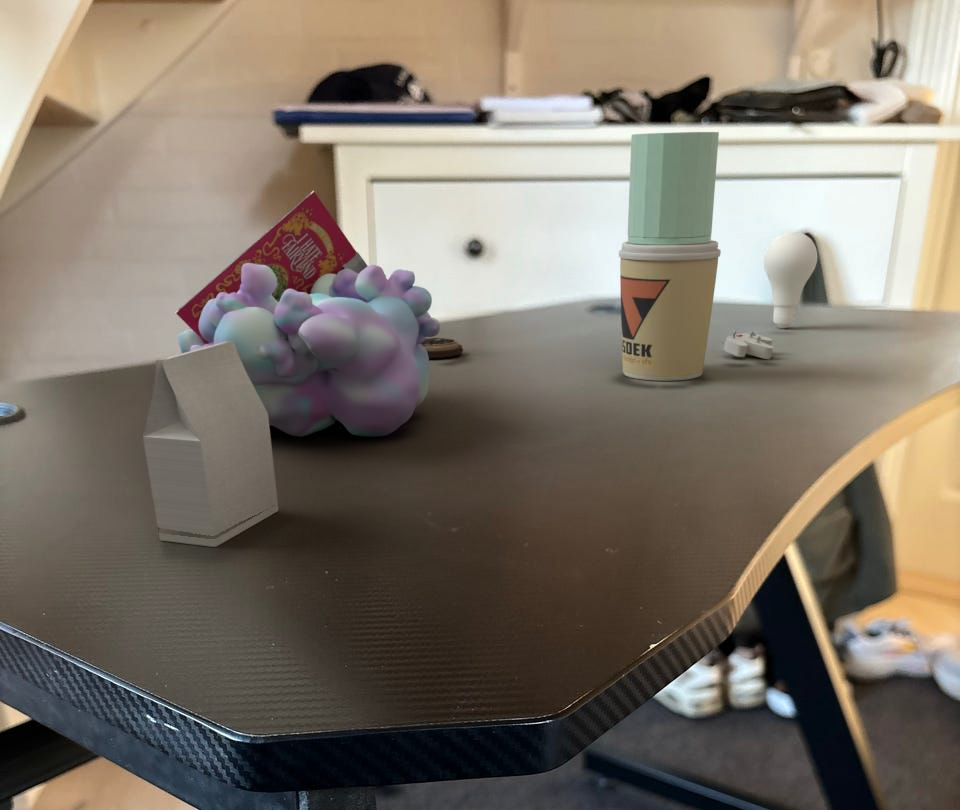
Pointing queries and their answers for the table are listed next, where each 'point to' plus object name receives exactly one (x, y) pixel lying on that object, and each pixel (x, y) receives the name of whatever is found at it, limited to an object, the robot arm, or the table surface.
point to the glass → (672, 188)
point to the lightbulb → (789, 273)
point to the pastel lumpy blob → (318, 328)
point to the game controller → (748, 345)
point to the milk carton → (208, 446)
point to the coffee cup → (666, 308)
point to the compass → (441, 347)
